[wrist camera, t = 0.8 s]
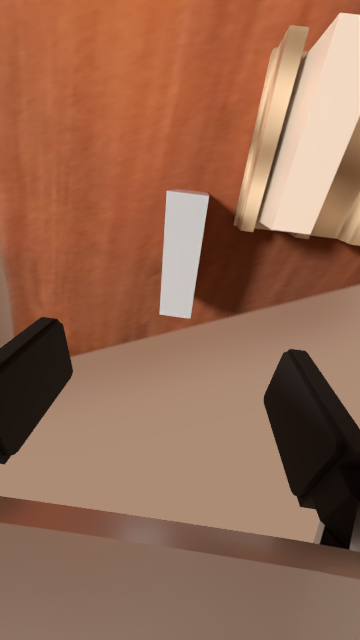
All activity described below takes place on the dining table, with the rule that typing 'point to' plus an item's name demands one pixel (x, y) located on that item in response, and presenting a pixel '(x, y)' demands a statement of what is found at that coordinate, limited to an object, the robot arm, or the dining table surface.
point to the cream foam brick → (315, 129)
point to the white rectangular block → (182, 250)
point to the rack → (352, 174)
